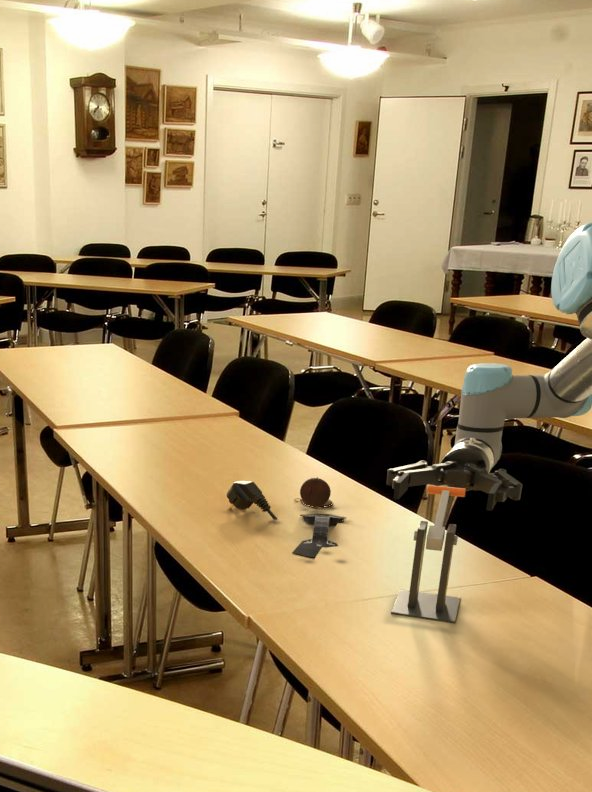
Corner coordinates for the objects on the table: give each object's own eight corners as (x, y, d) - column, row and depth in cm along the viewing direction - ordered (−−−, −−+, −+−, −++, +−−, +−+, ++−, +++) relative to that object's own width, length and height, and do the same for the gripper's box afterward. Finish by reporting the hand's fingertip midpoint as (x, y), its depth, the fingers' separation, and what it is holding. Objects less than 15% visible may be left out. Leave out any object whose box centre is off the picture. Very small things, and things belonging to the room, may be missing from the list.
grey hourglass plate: (291, 558, 164) (292, 540, 162) (300, 515, 185) (301, 499, 184) (343, 562, 161) (345, 544, 160) (346, 517, 183) (348, 501, 182)
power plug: (269, 520, 182) (232, 476, 186) (250, 543, 187) (215, 501, 192) (286, 513, 185) (250, 471, 189) (267, 536, 190) (233, 495, 195)
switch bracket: (399, 596, 146) (409, 514, 141) (459, 604, 142) (472, 520, 137) (390, 619, 138) (400, 532, 133) (453, 628, 134) (467, 540, 129)
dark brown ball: (334, 502, 194) (337, 469, 191) (327, 514, 187) (330, 479, 185) (296, 499, 197) (299, 466, 194) (289, 510, 191) (291, 476, 188)
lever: (427, 492, 144) (428, 480, 143) (465, 496, 142) (466, 484, 140) (414, 548, 137) (414, 536, 135) (453, 552, 134) (454, 540, 133)
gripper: (394, 437, 161) (362, 463, 144) (551, 451, 149) (536, 482, 132) (389, 478, 164) (358, 508, 147) (543, 495, 152) (527, 531, 135)
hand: (442, 496), depth 140 cm, fingers open, 13 cm apart
